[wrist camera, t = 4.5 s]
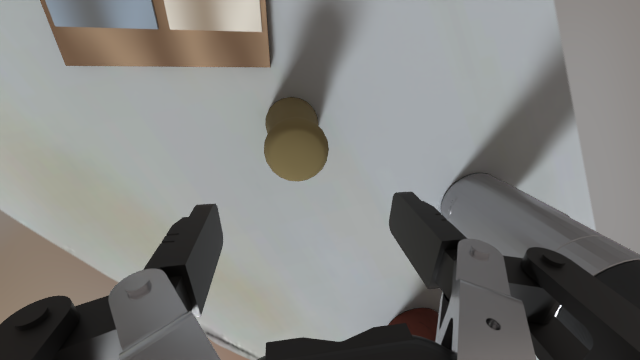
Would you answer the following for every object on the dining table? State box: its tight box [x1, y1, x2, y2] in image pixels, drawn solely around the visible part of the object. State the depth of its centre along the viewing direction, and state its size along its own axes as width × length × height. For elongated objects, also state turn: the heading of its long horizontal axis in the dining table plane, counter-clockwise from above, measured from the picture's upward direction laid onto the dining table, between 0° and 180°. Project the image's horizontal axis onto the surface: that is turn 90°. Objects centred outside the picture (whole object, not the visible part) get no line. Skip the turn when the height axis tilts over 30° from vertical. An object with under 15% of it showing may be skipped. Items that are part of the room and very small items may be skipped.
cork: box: [264, 97, 329, 181], centre depth 23 cm, size 6×6×11 cm
